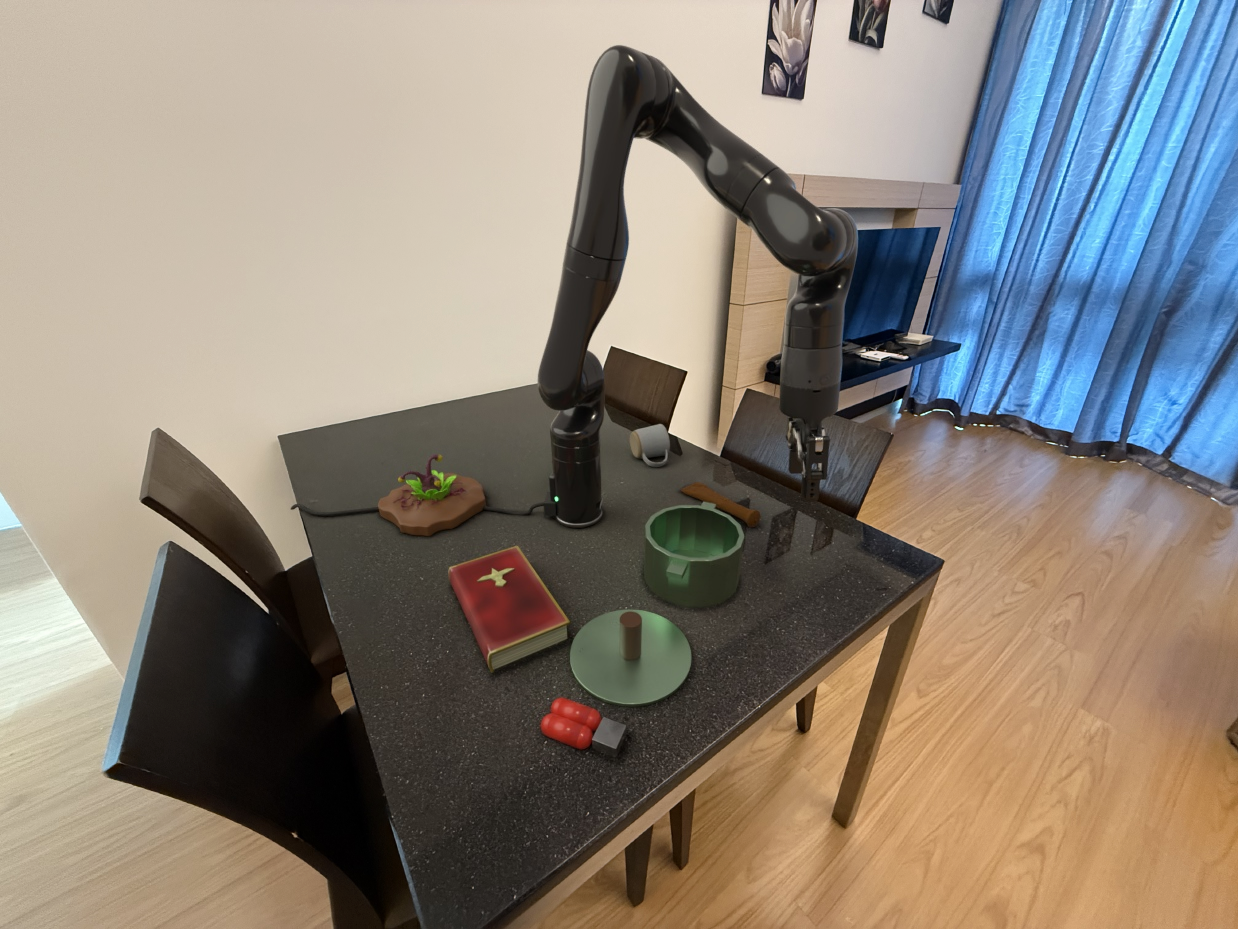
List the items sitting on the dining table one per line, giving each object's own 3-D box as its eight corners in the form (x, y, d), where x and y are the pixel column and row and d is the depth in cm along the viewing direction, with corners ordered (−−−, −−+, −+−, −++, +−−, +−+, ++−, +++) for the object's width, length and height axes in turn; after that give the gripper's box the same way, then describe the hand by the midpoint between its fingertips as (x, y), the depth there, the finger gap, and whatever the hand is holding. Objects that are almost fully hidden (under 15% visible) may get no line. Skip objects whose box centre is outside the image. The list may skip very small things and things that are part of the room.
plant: (504, 505, 110) (498, 457, 105) (417, 546, 97) (405, 493, 92) (452, 474, 122) (445, 429, 117) (369, 507, 109) (356, 459, 104)
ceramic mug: (627, 452, 132) (628, 423, 128) (657, 446, 134) (658, 419, 131) (644, 471, 123) (645, 441, 119) (675, 465, 125) (677, 436, 122)
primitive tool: (679, 491, 114) (680, 477, 113) (697, 484, 117) (698, 470, 116) (749, 531, 101) (751, 516, 99) (767, 521, 104) (770, 506, 102)
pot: (624, 605, 83) (624, 556, 79) (665, 534, 100) (667, 490, 96) (722, 633, 78) (728, 582, 73) (748, 553, 95) (754, 508, 90)
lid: (547, 685, 70) (544, 645, 66) (600, 603, 83) (599, 567, 80) (669, 729, 64) (671, 687, 60) (704, 633, 77) (708, 595, 74)
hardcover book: (490, 676, 71) (486, 653, 69) (450, 586, 87) (446, 566, 85) (571, 642, 76) (569, 620, 74) (519, 563, 92) (517, 544, 90)
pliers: (537, 737, 63) (535, 723, 62) (557, 704, 67) (556, 690, 66) (612, 768, 59) (612, 753, 58) (629, 731, 64) (629, 716, 62)
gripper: (771, 364, 76) (767, 465, 83) (791, 395, 63) (785, 512, 70) (825, 361, 75) (817, 463, 82) (857, 392, 62) (843, 510, 69)
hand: (802, 486), depth 76 cm, fingers open, 8 cm apart
